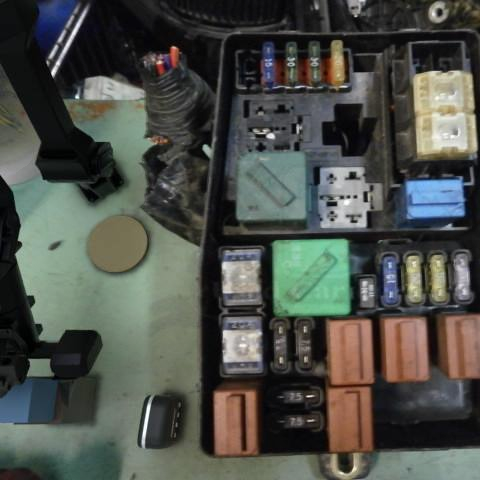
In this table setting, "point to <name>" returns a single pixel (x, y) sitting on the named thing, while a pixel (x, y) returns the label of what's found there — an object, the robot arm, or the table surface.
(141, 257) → the tan disc
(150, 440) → the battery charger
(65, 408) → the block
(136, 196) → the table surface
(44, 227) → the table surface
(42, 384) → the relay
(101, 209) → the table surface
